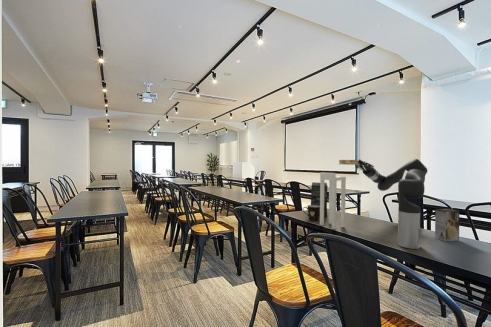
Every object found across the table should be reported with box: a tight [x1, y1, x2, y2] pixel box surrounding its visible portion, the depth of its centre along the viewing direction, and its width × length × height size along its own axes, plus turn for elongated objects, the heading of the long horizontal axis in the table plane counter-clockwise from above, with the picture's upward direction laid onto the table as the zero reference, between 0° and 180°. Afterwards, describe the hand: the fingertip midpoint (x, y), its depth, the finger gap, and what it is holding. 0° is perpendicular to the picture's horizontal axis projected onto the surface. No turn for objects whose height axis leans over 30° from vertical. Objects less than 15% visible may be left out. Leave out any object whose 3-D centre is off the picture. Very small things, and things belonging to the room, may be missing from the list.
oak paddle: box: [338, 159, 366, 166], centre depth 172 cm, size 9×19×3 cm, turn 118°
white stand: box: [319, 172, 347, 230], centre depth 163 cm, size 12×10×34 cm
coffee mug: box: [302, 204, 320, 222], centre depth 180 cm, size 12×9×10 cm
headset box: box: [310, 181, 329, 218], centre depth 199 cm, size 22×12×26 cm, turn 164°
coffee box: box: [434, 208, 460, 242], centre depth 138 cm, size 9×6×16 cm
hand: (357, 160), depth 173 cm, fingers closed on oak paddle, 2 cm apart
